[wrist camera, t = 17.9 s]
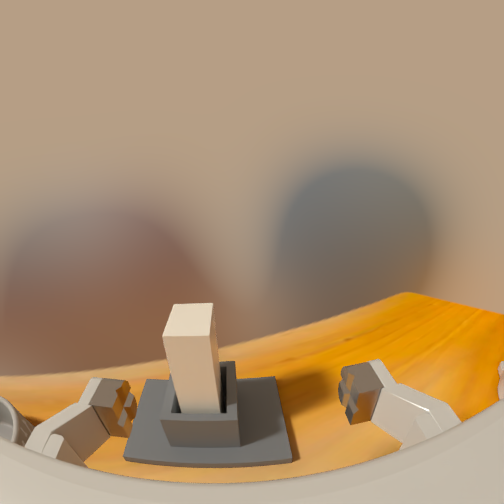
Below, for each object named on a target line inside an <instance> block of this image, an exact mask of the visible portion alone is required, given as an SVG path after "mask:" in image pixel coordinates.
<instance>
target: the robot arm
mask: <svg viewBox="0 0 504 504" xmlns="http://www.w3.org/2000/svg"><path fill="white" fill-rule="evenodd" d="M498 372H499V375H500V380H499V384H498V395H499V398H500V400H499V401H498V402H496V403H494V404H493V405H491V406H490V407H488V408H486V409H485V410H483V411H482V412H480V413H478V414H476V415H475V416H473V417H471V418H469V419H467V420H466V421H464V422H461V421H460V420H459V418H458V417H457V416H456V414H455V413H454V412H453V410H452V409H451V408H450V406H449V405H448V404H447V403H445V402H443V401H441V400H438V399H436V398H433V397H431V396H429V395H426V394H424V393H422V392H419V391H417V390H415V389H412V388H410V387H408V386H406V385H403V384H401V383H399V384H397V383H396V381H395V380H394V379H393V377H392V376H391V374H390V373H389V371H388V370H387V369H386V367H385V366H384V364H383V363H382V361H381V360H379V359H376V360H372V361H368V362H364V363H360V364H355V365H350V366H345V367H343V368H342V370H341V376H342V380H341V382H340V383H339V388H338V392H339V399H340V402H341V404H342V405H343V406H344V407H346V412H345V414H346V416H347V418H348V421H349V423H350V425H353V424H358V423H362V422H366V421H371V422H372V423H374V424H375V425H377V426H378V427H380V428H381V429H382V430H384V431H385V432H387V433H388V434H390V435H391V436H393V437H394V438H396V439H397V440H399V441H400V442H402V443H403V444H402V446H401V447H400V449H399V451H396V452H394V453H391V454H388V455H385V456H382V457H379V458H376V459H373V460H369V461H366V462H362V463H359V464H355V465H352V466H348V467H344V468H340V469H335V470H331V471H326V472H321V473H316V474H311V475H306V476H300V477H293V478H286V479H278V480H269V481H259V482H244V483H183V482H169V481H158V480H150V479H142V478H135V477H129V476H123V475H117V474H112V473H107V472H103V471H98V470H94V469H90V468H88V467H87V466H86V465H85V464H84V461H85V460H86V459H87V458H88V457H89V456H90V455H92V454H93V453H94V452H95V451H96V450H97V449H98V448H99V447H100V446H101V445H102V444H103V443H104V442H105V441H106V440H107V439H109V438H110V436H116V437H125V438H129V437H130V433H131V430H132V427H133V425H132V423H131V420H133V419H134V418H135V417H136V413H137V403H136V399H135V397H134V395H133V394H131V393H130V392H129V391H130V388H131V387H130V385H129V383H128V381H126V380H116V379H107V378H97V377H93V378H91V379H90V381H89V383H88V385H87V387H86V388H85V390H84V392H83V394H82V396H81V398H80V400H79V402H78V403H74V404H72V405H70V406H69V407H67V408H65V409H64V410H62V411H61V412H59V413H57V414H56V415H54V416H52V417H51V418H49V419H47V420H46V421H44V422H42V423H41V424H39V425H37V426H36V427H35V428H34V430H33V432H32V433H31V435H30V437H29V439H28V441H27V443H26V445H25V446H24V447H23V446H21V445H18V444H16V443H14V442H11V441H9V440H7V439H5V438H3V437H1V436H0V504H504V361H502V362H501V363H500V365H499V366H498Z"/></svg>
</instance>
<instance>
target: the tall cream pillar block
mask: <svg viewBox="0 0 504 504" xmlns="http://www.w3.org/2000/svg"><path fill="white" fill-rule="evenodd" d="M162 337H163V342H164V346H165V351H166V355H167V360H168V364H169V368H170V372H171V376H172V380H173V384H174V388H175V391H176V395H177V399H178V402H179V406H180V409H181V413H189V414H215V413H224V395H223V388H222V380H221V372H220V364H219V356H218V347H217V338H216V329H215V319H214V309H213V303H203V304H202V303H200V304H174V306H173V308H172V311H171V314H170V317H169V320H168V322H167V324H166V327H165V330H164V333H163V336H162Z"/></svg>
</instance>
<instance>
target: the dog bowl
mask: <svg viewBox="0 0 504 504" xmlns="http://www.w3.org/2000/svg"><path fill="white" fill-rule="evenodd" d="M34 428H35V427H34V426H33V425H32V424H31V423H30V422H29V421H28V420H26V419H25V418H24V417H23V416H22V415H21V414H20V413H19V411H18V410H17V409H16V408H15V407H14V406H13V405H12V404H11V403H10V402H9V401H8V400H6V399H5V398H3V397H1V396H0V436H1V437H3V438H5V439H7V440H9V441H11V442H14V443H16V444H18V445H21V446H23V447H24V446H25V445H26V443H27V441H28V439H29V437H30V435H31V433H32V432H33V430H34Z"/></svg>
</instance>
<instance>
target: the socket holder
mask: <svg viewBox="0 0 504 504" xmlns="http://www.w3.org/2000/svg"><path fill="white" fill-rule="evenodd" d="M219 364H220V372H221V380H222V388H223V395H224V413H215V414H189V413H181V409H180V406H179V402H178V399H177V395H176V391H175V388H174V384H173V380H172V376H171V373H170V377H169V380H156V379H147V380H146V383H145V386H144V389H143V392H142V395H141V398H140V401H139V404H138V408H137V413H136V417H135V418H134V420H133V424H132V425H133V427H132V430H131V433H130V437H129V438H128V440H127V444H126V447H125V451H124V454H123V457H124V459H125V460H126V461H131V462H137V463H145V464H154V465H164V466H176V467H197V468H232V467H252V466H265V465H275V464H284V463H291V462H292V453H291V449H290V444H289V440H288V435H287V430H286V426H285V421H284V417H283V412H282V407H281V403H280V398H279V393H278V389H277V384H276V379H275V376H273V377H261V378H247V379H236V368H235V361H226V362H219Z"/></svg>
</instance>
